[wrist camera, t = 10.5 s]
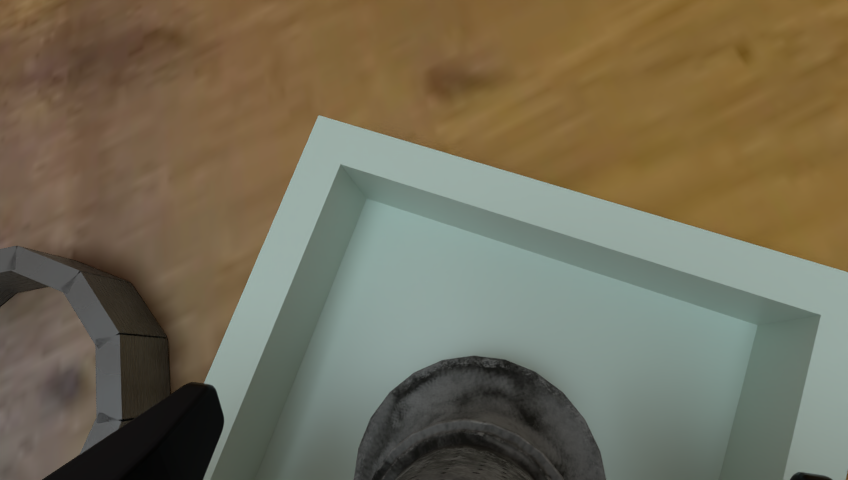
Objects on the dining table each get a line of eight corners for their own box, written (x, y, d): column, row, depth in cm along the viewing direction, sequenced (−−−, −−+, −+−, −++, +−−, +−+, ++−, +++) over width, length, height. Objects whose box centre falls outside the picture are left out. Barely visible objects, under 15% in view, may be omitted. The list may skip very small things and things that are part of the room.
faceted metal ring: (214, 315, 19) (172, 307, 17) (90, 600, 17) (24, 637, 15) (1, 231, 21) (-64, 213, 18) (-129, 480, 19) (-218, 496, 17)
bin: (796, 303, 17) (886, 283, 13) (665, 850, 14) (728, 1032, 10) (353, 165, 20) (318, 115, 16) (178, 595, 17) (85, 661, 13)
